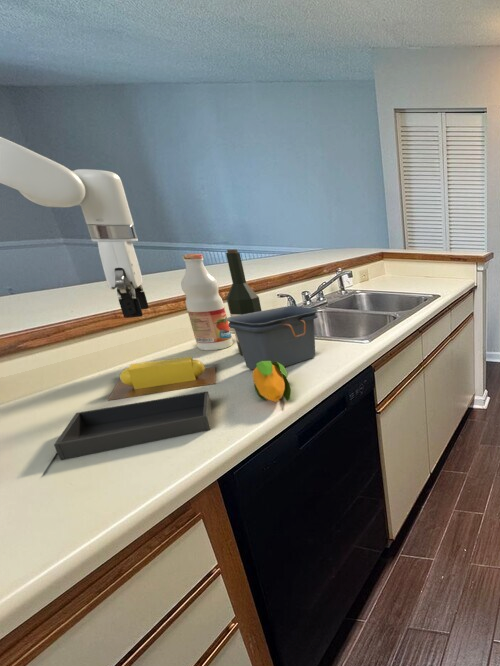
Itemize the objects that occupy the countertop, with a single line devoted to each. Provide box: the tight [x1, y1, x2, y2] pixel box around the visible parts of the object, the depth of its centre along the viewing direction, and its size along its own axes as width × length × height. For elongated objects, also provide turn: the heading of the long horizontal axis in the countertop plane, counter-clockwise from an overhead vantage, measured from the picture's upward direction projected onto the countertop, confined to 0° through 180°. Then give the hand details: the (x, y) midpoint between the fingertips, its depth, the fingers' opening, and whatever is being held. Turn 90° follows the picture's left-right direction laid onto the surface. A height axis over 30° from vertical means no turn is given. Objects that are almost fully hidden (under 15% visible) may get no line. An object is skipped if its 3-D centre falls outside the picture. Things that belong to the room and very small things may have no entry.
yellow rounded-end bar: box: [119, 356, 206, 389], centre depth 104 cm, size 16×4×5 cm, turn 123°
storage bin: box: [226, 305, 319, 371], centre depth 117 cm, size 21×16×14 cm
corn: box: [252, 361, 292, 403], centre depth 98 cm, size 7×8×20 cm
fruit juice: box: [180, 253, 234, 351], centre depth 128 cm, size 9×9×28 cm
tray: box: [53, 390, 212, 461], centre depth 82 cm, size 21×14×4 cm
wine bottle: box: [225, 248, 263, 357], centre depth 123 cm, size 8×8×30 cm
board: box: [107, 366, 216, 402], centre depth 105 cm, size 20×14×1 cm
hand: (137, 312), depth 97 cm, fingers open, 9 cm apart
